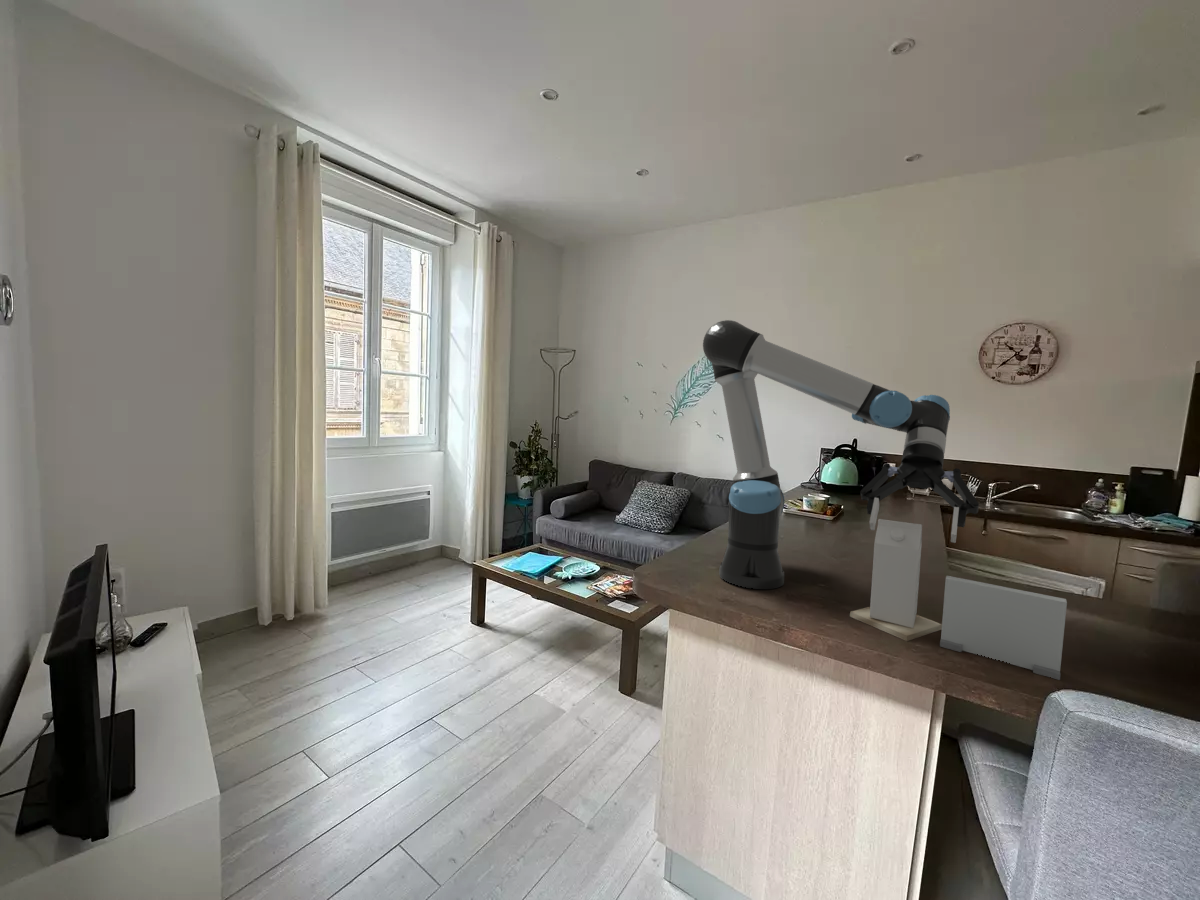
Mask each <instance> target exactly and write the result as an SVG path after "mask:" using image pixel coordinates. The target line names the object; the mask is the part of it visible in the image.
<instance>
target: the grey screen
mask: <svg viewBox="0 0 1200 900" xmlns="http://www.w3.org/2000/svg"><path fill="white" fill-rule="evenodd" d="M1067 605H1068V602H1067V599H1066V598H1063V597H1057V596H1052V595H1047V594H1042V593H1036V592H1032V591H1026V590H1022V589H1016V588H1012V587H1008V586H1001V585H996V584H991V583H987V582H982V581H978V580H977V581H976V580H972V579H966V578H962V577H955V576H951V575H946V576H945V583H944V596H943V607H942V608H943V609H942V621H941V624H942V630H940V631H941V634H940V635H941V636H940V641H939V647H942V648H944V649H948V650H952V651H955V652H959V653H962V652H966V653H970V654H973V655H977V654H978V656H981V655H982V656H981V657H984V656H985V657H984V658H988V657H989V659H991V658H992V660H995V659H996V660H995V661H998V660H1000V662H1002V661H1004V662H1003V663H1006V662H1007V664H1009V663H1010V664H1009V665H1013V666H1017V667H1020V668H1023V669H1024V668H1025V669H1028V670H1031V671H1032V673H1033V674H1037V675H1040V676H1044V677H1048V678H1050V677H1051V679H1054V680H1058V681H1060V680H1061V666H1062V665H1061V664H1062V654H1063V645H1064V635H1065V626H1066V614H1067V607H1068V606H1067Z"/></svg>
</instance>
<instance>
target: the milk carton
mask: <svg viewBox="0 0 1200 900" xmlns="http://www.w3.org/2000/svg"><path fill="white" fill-rule="evenodd" d="M877 519H878V520H877V528H876V531H875V537H874V545H873V559H872V560H873V563H872V572H871V574H872V576H871V577H872V578H871V588H870V589H871V591H870V605H869V607H870V617H871V618H874V619H878V620H882V621H886V622H890V623H894V624H898V625H902V626H907V627H911V628H913V627H914V623H915V618H916V615H917V612H918V611H917V609H918V597H919V583H920V573H921V572H920V571H921V570H920V569H921V557H922V556H921V555H922V543H923V535H922V534H923V524H920V523H912V522H905V521H898V520H897V521H896V520H888V519H882V518H877Z"/></svg>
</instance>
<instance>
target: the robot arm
mask: <svg viewBox="0 0 1200 900" xmlns="http://www.w3.org/2000/svg"><path fill="white" fill-rule="evenodd" d="M702 341H703V342H702V349H703V354H704V355H705V357H706V359H707V360H708V361H709V362H710V363H711V366H712V370H713V377H714V381H715V382H716V383H717V384H719V385H720V386H721V388H722V389H721V390H722V392H723V393H722V394H723V400H724V405H725V410H726V411H725V412H726V415H727V421H728V427H729V431H730V438H731V444H732V449H733V454H734V461H735V466H736V474H735V475H734V476H733V478H732V480H733V484H732V485H731V486H730V490H729V494H728V501H729V504H728V505H729V507H728V508H729V509H728V526H727V527H728V530H727V531H728V533H727V537H728V538H727V547H726V549H725V552H724V555H723V558H722V561H721V562H720V564H719V571H718V572H719V573H718V575H720V576H719V577H720V578H721V580H723V579H724V580H725V582H726V581H727V582H726V583H728V582H729V583H728V584H730V583H732V584H731V585H733V584H735V585H734V586H736V585H738V587H740V586H742V587H741V588H745V587H746V588H745V589H751V588H753V589H754V590H774V589H778V588H780V587H782V586H784V585H785V571H784V569H783V568H782V563H781V558H780V554H779V530H780V517H781V514H782V513H783V511H784V507H785V501H786V500H785V495H784V493H783V490H782V489H781V485H780V478H779V474H778V470H775V469H774V468H772V466H771V463H770V458H769V454H768V446H767V441H766V440H767V439H766V434H765V430H764V424H763V419H762V414H761V409H760V403H759V398H758V393H757V387H756V386H757V385H756V381H755V379H756V377H757V375H761V376H763V377H765V378H768V379H770V380H772V381H774V382H777V383H780V384H782V385H784V386H787V387H789V388H791V389H794V390H796V391H798V392H801V393H803V394H805V395H807V396H811V397H813V398H815V399H817V400H820V401H822V402H825V403H827V404H829V405H831V406H833V407H837V408H839V409H841V410H843V411H845V412H848V413H850V414H851V418H852V420H854V421H857V422H861V423H862V424H865V425H867V424H869V425H872V426H876V427H881V428H885V429H889V430H894V431H897V432H902V433H906V435H905V439H904V446H903V451H902V456H901V460H900V461H901V462H900V465H899V466H897V467H896V466H891V464H890V463H888V462H885V463H884V464H883V465H882V468H881V470H880V471H879V472H878V473H877V474H876V475H875V476H874V477H873V478H871V480H870V481H869V482H868V483H867V484H866V485H865V486H864V487H862V489H861V490H860V492H859V493H860V498H861V500H862V501H867V504H866V512H867V515H870V517H869V522H868V523H869V529H870V531H875V529H876V524H877V521H878V520H877V519H878V514H879V509H880V501H882V500H883V499H885V498H886V497H889V496H890V495H891V494H893V493H895V492H897V491H898V490H903V489H904V488H906V487H909V488H911V489H912V488H913V489H915V488H919V489H923V490H927V489H929V488H930V489H931V490H932V491H933V492H935V494H936V493H937V494H938V495H939V496H940V497H941V498H942V499H943V500H944V501H945V502H946V503H947V504H948V505H950V507H952V508H953V513H952V521H951V522H952V523H951V532H950V542H951V543H954V544H955V543H956V542H957V535H958V534H957V533H958V527H960V528H964V527H965V526H966V520H967V519H966V516H967V514H970V513H971V514H974V515H977V514H978V513H979V507H980V506H979V505H980V504H979V502H978V501H977V499H976V497H975V496H974V495H973V493H972V492H971V490H970V489H969V487H968V486H967V484H966V482H965V481H964V479H963V477H962V472H961V469H960V468H954V469H953V470H947V471H945V470H944V467H943V466H944V460H945V452H946V446H947V445H946V444H947V436H948V435H947V434H948V427H949V423H950V420H951V419H950V418H951V416H950V413H951V412H950V411H951V410H950V404H949V401H947V400H946V399H945V398H944V397H943V396H940V395H936V394H930V395H929V394H928V395H926V394H925V395H920V396H918V397H916V398H915V399H914V400H910V398H909V397H908V396H907V395H906V394H905V393H902V392H901V391H898V390H891V389H888V388H886V387H885V388H884V387H882V386H880V385H877V384H875V383H873V382H870V381H868V380H865V379H863V378H861V377H858V376H855V375H854V374H850V373H848V372H846V371H842V370H840V369H837V368H835V367H833V366H830V365H827V364H825V363H823V362H820V361H817V360H815V359H813V358H810V357H808V356H805V355H802V354H800V353H797V352H796V351H792V350H790V349H787V348H785V347H783V346H780V345H779V344H775V343H772V342H770V341H767V340H766V339H765V337H764V334H763V333H760V332H758V331H755V330H752V329H751V328H749V327H746V325H743V324H741V323H739V322H738V321H735V320H731V319H728V320H727V319H725V320H720V321H718V322H716V323H714V324H712V325H711V326H710V327H709V328H708V330H707V331H706V333H705V335H704V337H703V340H702ZM894 474H897V475H896V476H895V477H894V479H892V480H891V481H889V482H887V483H885V482H886V481H887V480H888V479H889V478H891V477H893V476H894ZM944 478H946V479H947V480H948V481H949V482H950V483H952V484H953V486H954V488H955V490H956V491H957V493H958V495H959V496H958V495H957V494H956V493H954V492H953V491H952V490H951V489H950V488H949V487H948V486H947V485H946V484H945V483H944V482H943V481H942V480H944ZM884 483H885V484H884ZM724 580H723V581H724Z"/></svg>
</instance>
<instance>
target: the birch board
mask: <svg viewBox="0 0 1200 900" xmlns="http://www.w3.org/2000/svg"><path fill="white" fill-rule="evenodd" d="M849 612H850V613H849V617H850V618H853V619H854V620H857V621H858V622H859V621H860V622H862V623H864V624H866V625H869V626H871V627H873V628H876V629H878V630H880V631H883V632H885V633H887V634H889V635H891V636H895V637H897V638H899V639H901V640H904V641H905V642H908V641H912V640H914V639H917V638H920V637H923V636H926V635H930V634H931V633H935V632H938V631H942V623H939V622H937V621H934V620H932V619H929V618H927V617H924V616H920V615H918V614H916V618H915V623H914V627H913V628H911V627H907V626H902V625H898V624H894V623H890V622H886V621H882V620H878V619H874V618H871V617H870V606H866V607H864V608H859V609H856V610H851V611H849Z"/></svg>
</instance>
